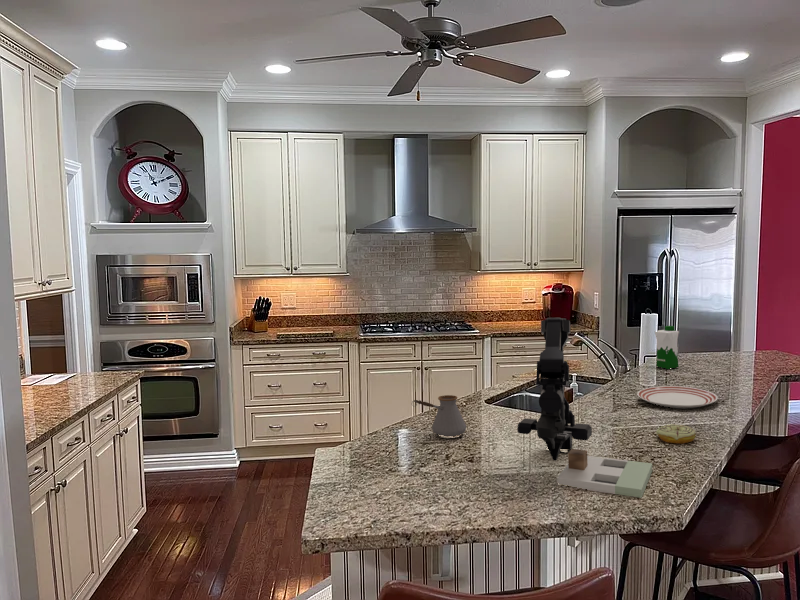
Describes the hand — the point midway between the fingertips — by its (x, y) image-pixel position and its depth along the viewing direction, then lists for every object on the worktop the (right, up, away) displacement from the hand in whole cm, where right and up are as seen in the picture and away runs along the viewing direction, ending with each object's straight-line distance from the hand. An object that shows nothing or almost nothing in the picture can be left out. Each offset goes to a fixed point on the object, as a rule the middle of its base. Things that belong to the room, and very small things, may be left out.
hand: (555, 460), depth 159 cm
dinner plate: (+62, +4, +63) cm, 89 cm away
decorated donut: (+43, 0, +21) cm, 48 cm away
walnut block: (+5, -1, -3) cm, 6 cm away
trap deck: (+11, -3, -6) cm, 13 cm away
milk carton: (+87, +10, +125) cm, 152 cm away
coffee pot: (-29, -2, +33) cm, 44 cm away
